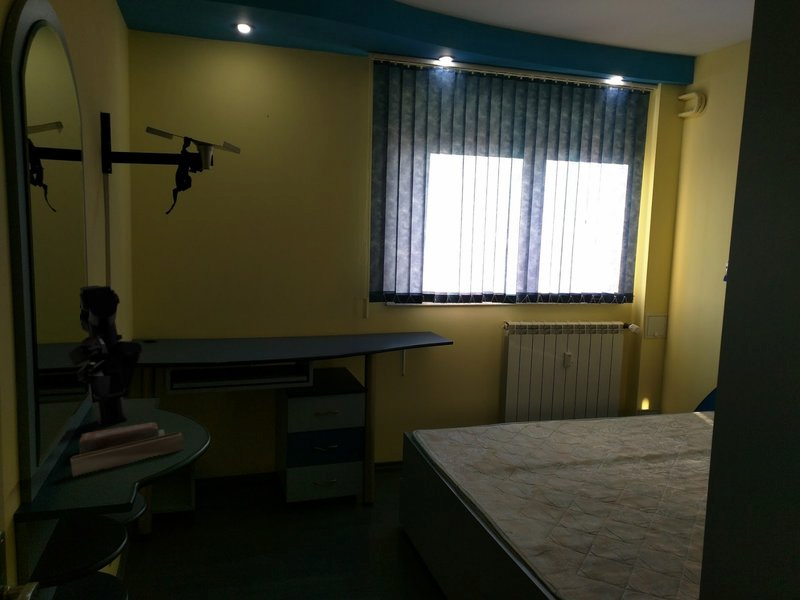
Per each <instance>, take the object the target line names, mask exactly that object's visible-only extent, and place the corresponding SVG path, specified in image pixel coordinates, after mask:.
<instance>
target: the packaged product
mask: <svg viewBox="0 0 800 600" xmlns="http://www.w3.org/2000/svg"><path fill="white" fill-rule="evenodd" d="M161 435H165V429H164V428H162V429H159V428H158V424H157V423H156V422H146V423H140V424H134V425H128V426H122V427H120V426H119V427H115V428H110V429H104V430H94V431H91V432H86V433H82V434H81V436H80V438H79V440H78V441H79V442H78V448H79V451H78V453H79V454H78V455H80V454H85V453H89V452H93V451H97V450H102V449H106V448H110V447H114V446H119V445H123V444H127V443H131V442H136V441H140V440H144V439H148V438H153V437H157V436H161Z"/></svg>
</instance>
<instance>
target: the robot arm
mask: <svg viewBox="0 0 800 600" xmlns="http://www.w3.org/2000/svg"><path fill="white" fill-rule="evenodd" d="M78 296H80V308H82V309H81V314H80V321H81V326H82V329H81V330H83V331H85V332H86V333H87V335H88V336H87V337H85V338H84V339H82V340H81V344H79V346H77V347H75V348H74V349H73V350H71V351H69V352H68V354H67V356H68V357H69V359H70V361H71V363H72V365H73V366H74V367H76V366H79V365H80V364H82V363H84V362H89V363H91V364H89V363H87V364H86V365H84V366H82V367H81V368H80V369H78V371H77V372H76V376H77V381H79V382H82V383H87V384H88V385H89V386H88V388H89V389H88V390H89V395H90V400H91V403H92V404H95V403H97V408H98V409H97V410H98V417H96V419H97V422H98V425H99V426H100V427H104V426H107V425H112V424H116V423H117V424H118V423H121V422H126V421H128V418H127V416H126V414H125V412H124V406H123V398H125V397H126V398H128V395H130V386H131V383H132V380H133V376H134V373H135V370H136V368H137V365H138V362H139V359H140V358H141V355H142V354H143V353H144V351H143V350H144V349H143V344H141V343H140V342H139V341H130V340H123V334H118V330H117V325H116V324H117V323H116V319H117V311H118V305H119V304H120V303H121V302H120V297H119V295H118V294H117V292H115V289H112V288H111V286H110V285H103V286H101V285H98V284H97V285H96V284H95V285H88V286H83V287H80V288H79V295H78ZM93 363H94V364H93Z"/></svg>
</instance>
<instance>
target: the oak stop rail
mask: <svg viewBox="0 0 800 600" xmlns="http://www.w3.org/2000/svg"><path fill="white" fill-rule="evenodd" d="M183 439H184V438H183V434H182V433H181V432H180V431H175V432H174V431H173V432H170V433H166V434H165V435H161V436H157V437H153V438H148V439H144V440H140V441H136V442H131V443H127V444H123V445H119V446H114V447H110V448H106V449H102V450H97V451H93V452H89V453H85V454H80V455H79V454H77V455H73V456H72V457H69V458H70V466H71V473H72V477H73V478H75V476H76V477H79V476H78V475H80V476H82V475H81V474H84V475H86V474H85V473H88V474H90V473H89V472H92V473H94V472H93V471H96V472H99V471H98V470H100V471H102V470H101V469H104V470H107V469H111V468H115V467H119V466H123V465H128V464H131V463H135V461H136V462H139V461H138V460H140V461H142V459H144V460H146V459H145V458H148V457H152V458H154V457H153V456H156V457H158V455H160V456H163V455H167V454H171V453H175V452H179V451H182V450H183V451H184V450H185V448H184V447H185V446H184V440H183ZM148 459H149V458H148Z"/></svg>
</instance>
